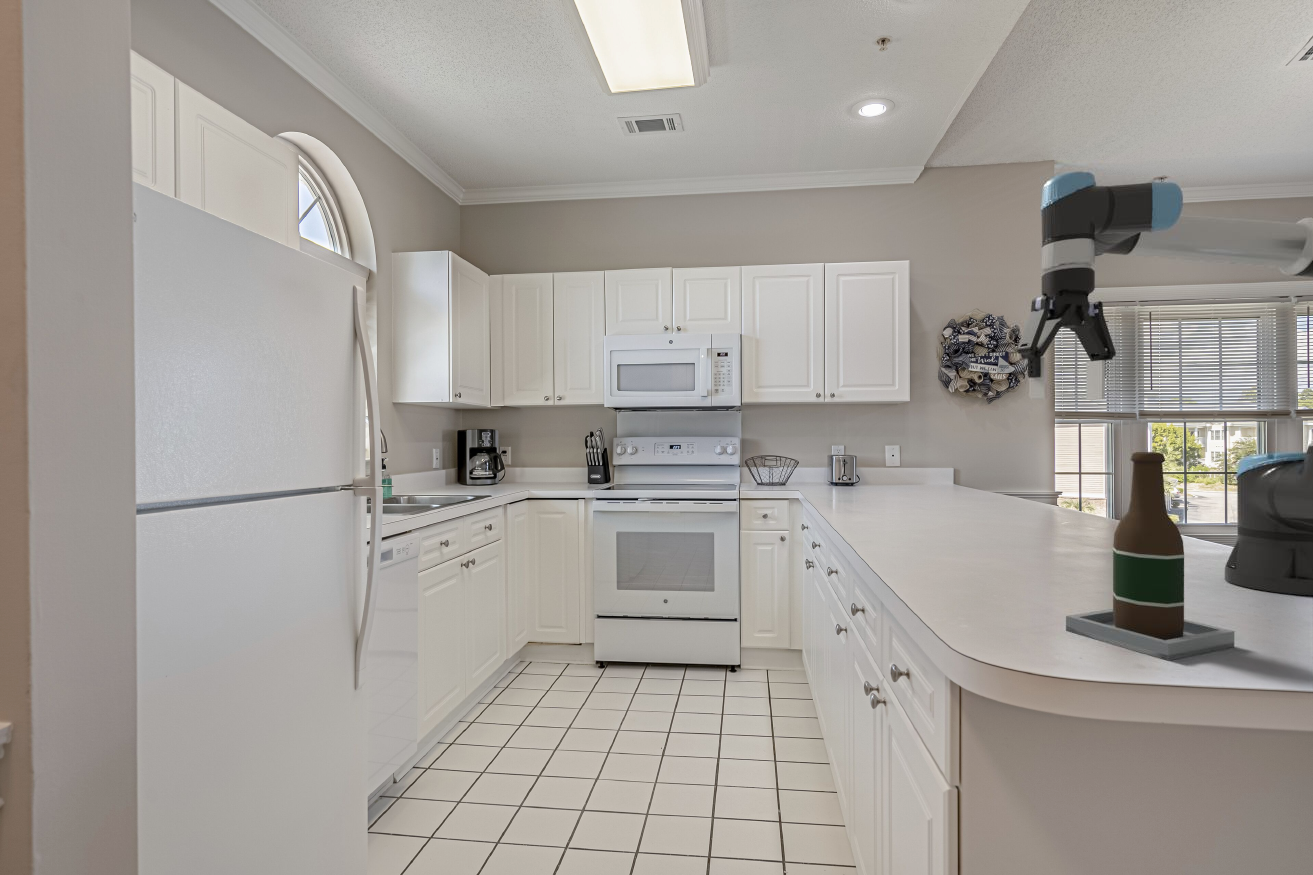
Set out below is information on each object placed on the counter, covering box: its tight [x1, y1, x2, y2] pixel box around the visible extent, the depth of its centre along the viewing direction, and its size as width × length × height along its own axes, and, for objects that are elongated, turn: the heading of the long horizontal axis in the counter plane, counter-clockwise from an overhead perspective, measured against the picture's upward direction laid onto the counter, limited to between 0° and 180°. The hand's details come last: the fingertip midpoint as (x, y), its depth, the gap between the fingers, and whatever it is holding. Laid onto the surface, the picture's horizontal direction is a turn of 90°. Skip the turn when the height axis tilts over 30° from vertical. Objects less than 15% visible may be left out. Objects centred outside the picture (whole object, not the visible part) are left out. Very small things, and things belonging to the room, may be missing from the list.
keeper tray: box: [1065, 608, 1235, 661], centre depth 88 cm, size 13×13×2 cm
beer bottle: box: [1112, 451, 1185, 640], centre depth 88 cm, size 8×8×24 cm
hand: (1067, 399), depth 111 cm, fingers open, 13 cm apart
